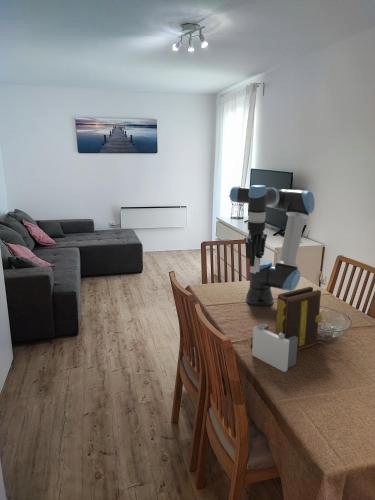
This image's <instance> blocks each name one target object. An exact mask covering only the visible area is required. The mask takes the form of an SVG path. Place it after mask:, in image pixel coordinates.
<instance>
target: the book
mask: <svg viewBox="0 0 375 500" xmlns="http://www.w3.org/2000/svg"><path fill="white" fill-rule="evenodd" d="M321 297H322V291H321V290H319V289H316V290H314V287H312V286H307V287H303V288H299V289H294V290H292V291H287V292H283V293H278V294H277V307H276V324H275V325H276V326H275V334H276V335H278V334H279V333H282V334H284V335H285V337H284V338H285V339H287V338H290V337H293V336H296V337H298V341H297V352H298V351H300V350H303V349H307V348H309V347H313V346H315V345H317V341H318V330H319V323H321V322H322V319H323V314H322V313H321V312H320V308H321V307H320V306H321V299H322V298H321Z"/></svg>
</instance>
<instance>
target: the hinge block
mask: <svg viewBox="0 0 375 500" xmlns="http://www.w3.org/2000/svg"><path fill="white" fill-rule="evenodd" d="M250 345H252V346H253V334H252V335H251V337H250Z"/></svg>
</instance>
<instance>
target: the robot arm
mask: <svg viewBox="0 0 375 500" xmlns="http://www.w3.org/2000/svg"><path fill="white" fill-rule="evenodd" d="M229 198H230V201H232V203H237V204H248V209H247V212H248V213H247V215H248V216H247V230H248V231H249V232H248V235H247V237H244V243H245V253H246V254H245V255H246V259H249V266H250V267H249V288H248V290H247V293H246V296H245V302H246V303H248V304H249V305H251V306H254V307H268V306H270V305H273V303H274V297H273V293H272V289H271V288H275V289H279V290H283V291H287V292H290V291H294V290H296V288H297V286H298V284H299V283H300V280H301V271H300V270H299V267H298V265H297V259H298V254H299V253H298V252H299V250H300V249H299V248H300V244H301V239H302V234H303V228H304V226H305V225H304V223H305V220H306V219H307V218H308V217H309V214H312V213H314V211H315V197H314V194H313V192H312V191H310V190H304V189H288V188H287V189H286V188H284V189H283V188H281V189H277V188H275V187H273V186H272V187H267V186H266V185H263V184H254V185H250V186H233V187H231V189H230V191H229ZM267 208H273V209H276V210H279V211H285V214H286V216H287V221H286V227H285V232H284V236H283V240H282V241H283V242H282V246H281V252H280V255H279V260H277V261H276V262H275V265H273V262H272V261H269V260H261V259H263V256H264V255H265V250H266V249H265V248H266V242H267V241H266V240H267V238H268V235H267V234H266V233H264V232H265V230H266V222H265V221H266V214H267V211H266V209H267Z"/></svg>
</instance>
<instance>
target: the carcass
mask: <svg viewBox="0 0 375 500" xmlns="http://www.w3.org/2000/svg"><path fill="white" fill-rule="evenodd" d="M269 326H270V325H269V324H267V323H264V324H261V323H258V325H255V326H253V327H252V335H253V345H252V354H251V356H252V355H253V357H254V358H257V359H259V360H260V361H262V362H264V363H266V364H268V365H270V366H272V367H274V368H275V369H277V370H279V371H281V372H283V373H285V372H287V371H288V368H291V367H293V366H295V365H296V364H297V354H298V351H297V341H298V337H296V336H293V337H290V338H287V339H285V338H284V337H285V335H284V334H282V333H279V334H278V335H276V333H274V332H272V331H270V329H269V328H270V327H269Z"/></svg>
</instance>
